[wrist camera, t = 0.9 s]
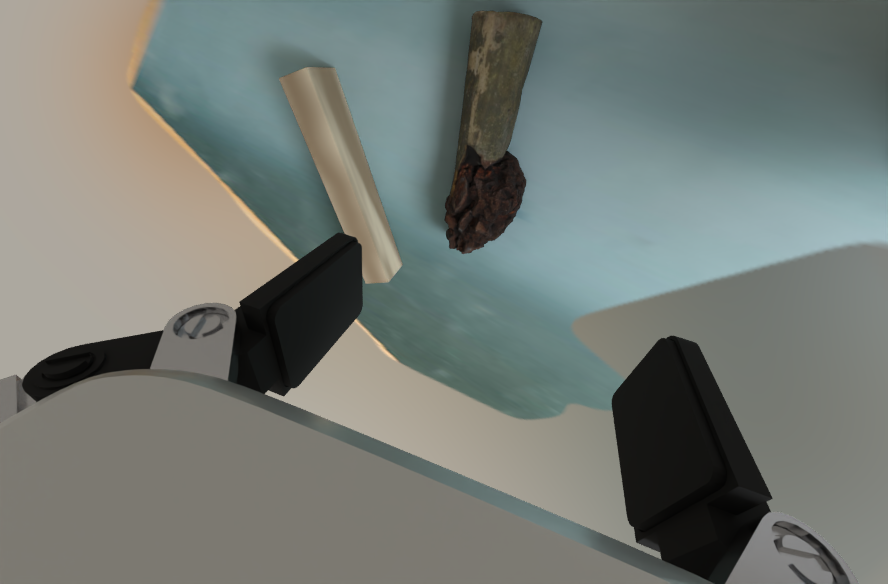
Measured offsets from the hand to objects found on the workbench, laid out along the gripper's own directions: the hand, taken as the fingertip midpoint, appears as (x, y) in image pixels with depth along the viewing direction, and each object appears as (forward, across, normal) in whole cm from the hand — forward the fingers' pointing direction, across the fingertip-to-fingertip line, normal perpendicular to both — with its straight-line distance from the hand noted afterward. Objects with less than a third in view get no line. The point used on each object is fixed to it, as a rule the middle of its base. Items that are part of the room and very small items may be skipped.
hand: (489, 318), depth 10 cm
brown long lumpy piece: (+23, +4, 0) cm, 23 cm away
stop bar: (+22, +17, +6) cm, 28 cm away
